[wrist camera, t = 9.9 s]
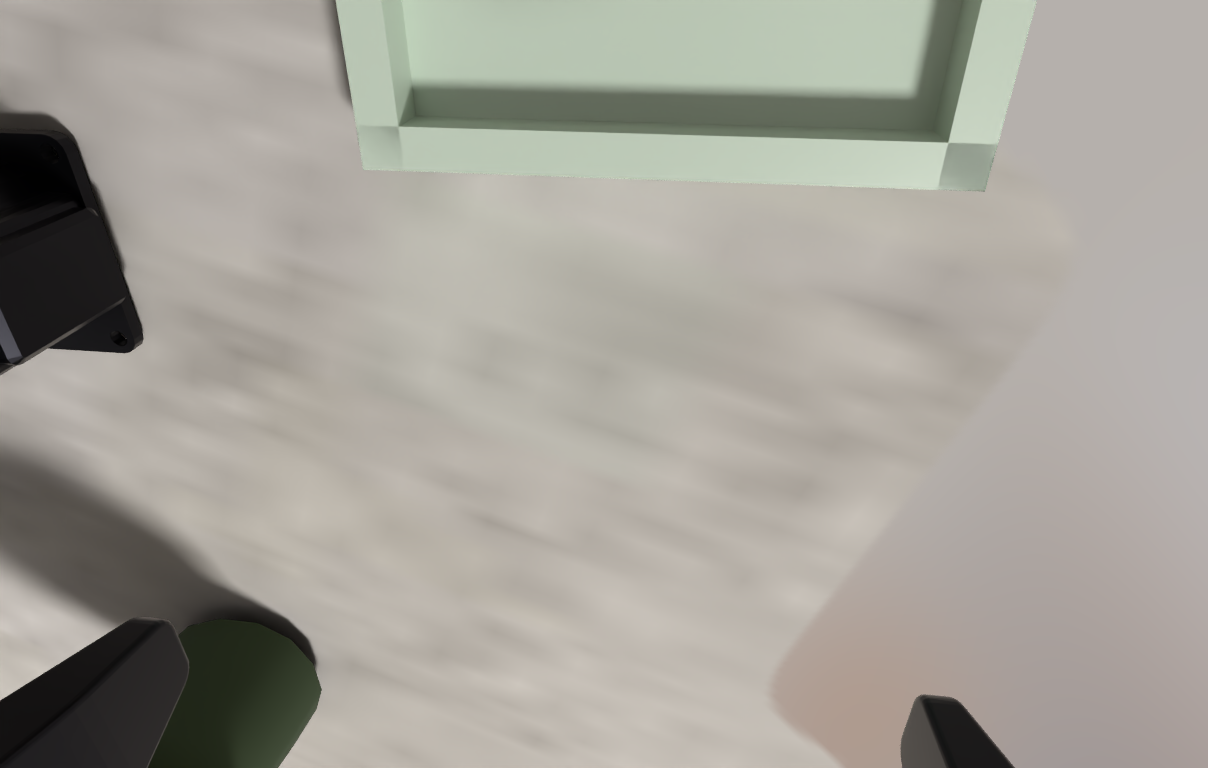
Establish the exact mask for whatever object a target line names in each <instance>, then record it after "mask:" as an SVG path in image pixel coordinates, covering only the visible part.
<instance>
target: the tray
mask: <svg viewBox="0 0 1208 768" xmlns="http://www.w3.org/2000/svg"><path fill="white" fill-rule="evenodd" d="M1036 2H1037V0H336V6H337V12H338V18H339V24H340V31H341V37H342V43H343V49H344V55H345V61H346V67H347V74H348V80H349V86H350V92H351V98H352V104H353V110H354V117H355V123H356V129H357V135H358V141H359V147H360V153H361V160H362V166H363V170H387V171H416V172H444V173H473V174H501V175H530V176H558V177H586V178H615V179H643V180H672V181H700V182H729V183H757V184H786V185H814V186H843V187H871V188H899V189H928V190H956V191H985V189H986V185H987V182H988V178H989V174H990V171H991V167H992V163H993V160H994V156H995V152H996V149H997V145H998V141H999V138H1000V134H1001V130H1002V126H1003V123H1004V119H1005V116H1006V112H1007V108H1008V105H1009V101H1010V97H1011V94H1012V90H1013V86H1014V83H1015V78H1016V75H1017V71H1018V68H1019V64H1020V60H1021V57H1022V53H1023V49H1024V46H1025V42H1026V39H1027V35H1028V31H1029V28H1030V24H1031V20H1032V17H1033V13H1034V9H1035V5H1036Z"/></svg>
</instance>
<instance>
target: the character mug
mask: <svg viewBox="0 0 1208 768" xmlns="http://www.w3.org/2000/svg"><path fill="white" fill-rule="evenodd" d="M178 637H179V639H180V642H181V644H182V646H183V649H184V651H185V653H186V656H187V658H188V661H189V674H188V678H187V681H186V684H185V686H184V689H183V691H182V693H181V695H180V697H179V700H178V702H177V704H176V706H175V708H174V711H173V713H172V715H171V717H170V719H169V722H168V724H167V726H166V728H165V730H164V733H163V735H162V737H161V739H160V741H159V744H158V746H157V748H156V750H155V753H154V755H153V757H152V759H151V761H150V764H149V766H148V768H278V767H279V766H280V764H281V763H282V761H283V760H284V759H285V757H286V756H287V754H288V753H289V751H290V750H291V748H292V747H293V746H294V744H295V742H296V741H297V739H298V738H299V736H300V734H301V733H302V731H303V730H304V728H305V726H306V725H307V723H308V722H309V720H310V719H311V717H312V715H313V714H314V712H315V711H316V709H317V705H318V702H319V698H320V694H321V690H322V689H321V686H320V683H319V680H318V677H317V674H316V671H315V668H314V665H313V663H312V662H311V661H310V660H309V659H308V658H307V657H306V656H305V655H304V654H303V652H302V651H301V650H300V649H299V648H298V647H297V646H296V645H295V644H294V643H293V641H292V640H291V639H289V638H287V637H285V636H283V635H281V634H279V633H277V632H275V631H273V630H271V629H269V628H267V627H265V626H263V625H261V624H258V623H254V622H245V621H236V620H227V619H217V620H213V621H208V622H204V623H200V624H196V625H191V626H189V627H187V628H186V629H185V630H184V631H183V632H182V633H181V634H179V635H178Z"/></svg>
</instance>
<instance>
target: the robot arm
mask: <svg viewBox="0 0 1208 768" xmlns="http://www.w3.org/2000/svg"><path fill="white" fill-rule="evenodd" d="M51 146H52V147H53V148H55V150H56V151H57V153H58V156H59V158H58V157H57V156H55V155H54V153H53V151H52V150H51ZM120 332H121V333H122V334H123V335H124V336H125V337H126V339H125V338H124V337H123V336H122V335H121V333H120ZM142 342H143V333H142V330H141V327H140V325H139V322H138V319H137V316H136V313H135V310H134V308H133V305H132V302H131V299H130V296H129V294H128V291H127V288H126V285H125V282H124V280H123V277H122V274H121V271H120V268H119V266H118V263H117V260H116V257H115V254H114V252H113V249H112V246H111V243H110V240H109V238H108V235H107V232H106V229H105V226H104V223H103V221H102V218H101V215H100V212H99V209H98V207H97V204H96V201H95V198H94V195H93V193H92V190H91V187H90V184H89V181H88V179H87V176H86V173H85V170H84V167H83V165H82V162H81V159H80V156H79V153H78V151H77V149H76V147H75V145H74V143H73V142H72V141H71V140H70V139H69V138H68V137H67V136H65V135H64V134H62V133H60V132H56V131H43V130H11V129H0V375H2V374H3V373H5V372H7V371H8V370H10V369H12V368H13V367H15V366H16V365H20V364H23V363H25V362H26V361H28V360H30V359H31V358H33V357H34V356H36V355H38V354H39V353H41V352H43V351H44V350H46V349H47V348H50V349H66V350H83V351H99V352H115V353H128V352H131V351H132V350H134V349H135V348H136V347H138V346H139V345H141V344H142ZM188 674H189V661H188V658H187V656H186V653H185V651H184V649H183V646H182V644H181V642H180V639H179V637H178V635H177V632H176V630H175V628H174V626H173V624H172V623H171V622H170V621H168V620H166V619H159V618H149V617H137V618H133V619H131V620H129V621H127V622H125V623H123V624H122V625H120V626H119V627H117V628H115V629H114V630H112V631H111V632H109V633H107V634H106V635H104V636H103V637H101V638H99V639H98V640H96V641H95V642H93V643H91V644H90V645H88V646H87V647H85V648H83V649H82V650H80V651H79V652H77V653H75V654H74V655H72V656H71V657H69V658H67V659H66V660H64V661H63V662H61V663H60V664H58V665H56V666H55V667H53V668H52V669H50V670H48V671H47V672H45V673H44V674H42V675H40V676H39V677H37V678H36V679H34V680H32V681H31V682H29V683H28V684H26V685H24V686H23V687H21V688H20V689H18V690H16V691H15V692H13V693H12V694H10V695H8V696H7V697H5V698H4V699H2V700H0V768H148V766H149V764H150V761H151V759H152V757H153V755H154V753H155V750H156V748H157V746H158V744H159V741H160V739H161V737H162V735H163V733H164V730H165V728H166V726H167V724H168V722H169V719H170V717H171V715H172V713H173V711H174V708H175V706H176V704H177V702H178V700H179V697H180V695H181V693H182V691H183V689H184V686H185V684H186V681H187V678H188ZM901 762H902V768H1015V767H1014V766H1013V765H1012V764H1011V763H1010V761H1009V760H1008V759H1007V758H1006V757H1005V755H1004V754H1003V753H1002V752H1001V750H1000V749H999V748H998V747H997V746H996V744H995V743H994V742H993V741H992V740H991V739H990V737H989V736H988V735H987V734H986V733H985V731H984V730H983V729H982V728H981V726H980V725H979V724H978V723H977V722H976V720H975V719H974V718H973V717H972V716H971V714H970V713H969V712H968V711H967V709H966V708H965V707H964V706H963V705H962V704H961V703H960V702H959V701H958V700H956V699H954V698H951V697H945V696H935V695H920V696H918V697H917V698H916V699H915V701H914V704H913V707H912V709H911V713H910V715H909V718H908V721H907V724H906V727H905V729H904V732H903V735H902V739H901Z"/></svg>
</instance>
